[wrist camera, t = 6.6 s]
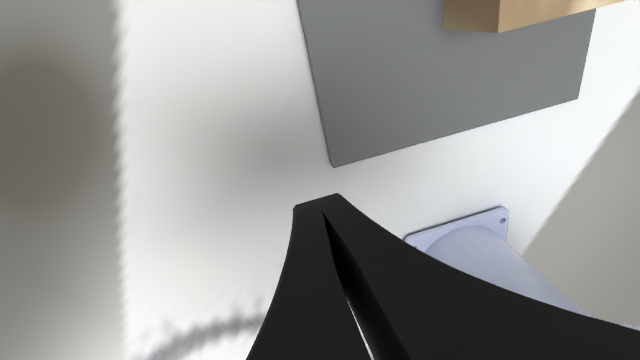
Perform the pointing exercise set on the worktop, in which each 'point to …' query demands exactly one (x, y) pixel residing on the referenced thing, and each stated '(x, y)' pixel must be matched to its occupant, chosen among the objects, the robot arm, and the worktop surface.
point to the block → (510, 13)
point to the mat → (430, 72)
